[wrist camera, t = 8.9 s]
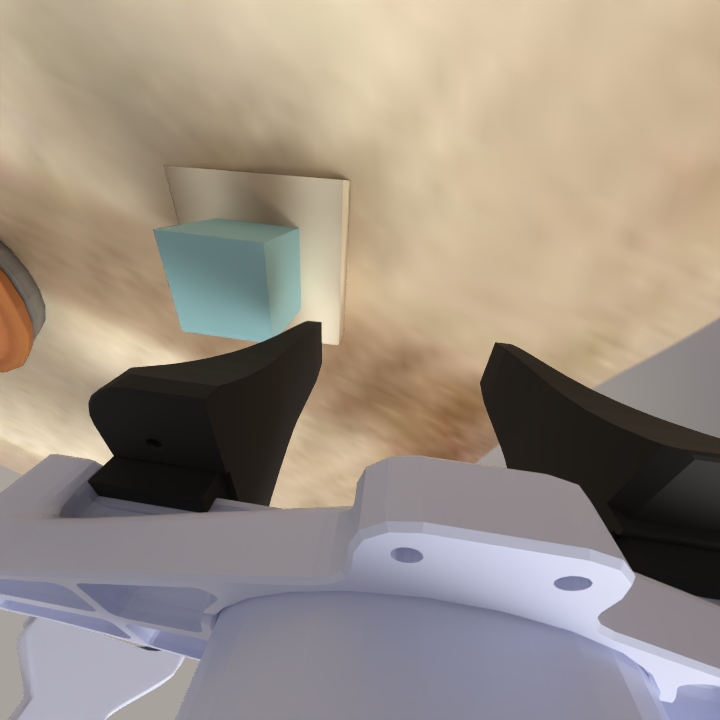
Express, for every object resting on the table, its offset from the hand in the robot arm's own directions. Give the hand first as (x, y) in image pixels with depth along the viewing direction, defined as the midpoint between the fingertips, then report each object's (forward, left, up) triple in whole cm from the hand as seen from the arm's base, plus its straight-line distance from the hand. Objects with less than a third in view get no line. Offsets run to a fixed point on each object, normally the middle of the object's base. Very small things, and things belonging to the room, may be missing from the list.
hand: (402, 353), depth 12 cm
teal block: (-9, +1, -7) cm, 11 cm away
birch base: (-9, +1, -9) cm, 13 cm away
